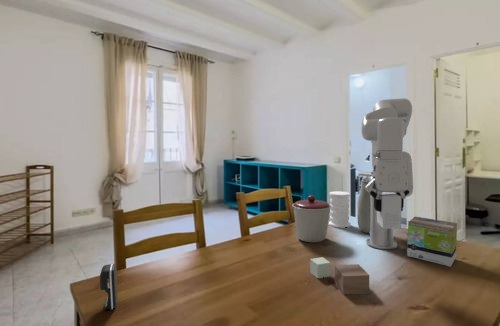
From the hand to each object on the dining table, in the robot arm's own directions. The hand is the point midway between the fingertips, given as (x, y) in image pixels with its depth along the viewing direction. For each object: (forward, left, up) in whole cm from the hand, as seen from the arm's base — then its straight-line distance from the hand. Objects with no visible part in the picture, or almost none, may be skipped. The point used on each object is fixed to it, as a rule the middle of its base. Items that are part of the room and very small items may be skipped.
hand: (388, 209), depth 97 cm
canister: (-42, -15, -24) cm, 51 cm away
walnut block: (+5, -14, -24) cm, 28 cm away
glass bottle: (-50, +16, -24) cm, 58 cm away
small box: (0, 0, -5) cm, 5 cm away
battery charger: (+10, -87, -24) cm, 91 cm away
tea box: (-16, +26, -24) cm, 39 cm away
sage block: (-5, -21, -24) cm, 32 cm away
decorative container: (-64, +6, -24) cm, 69 cm away
